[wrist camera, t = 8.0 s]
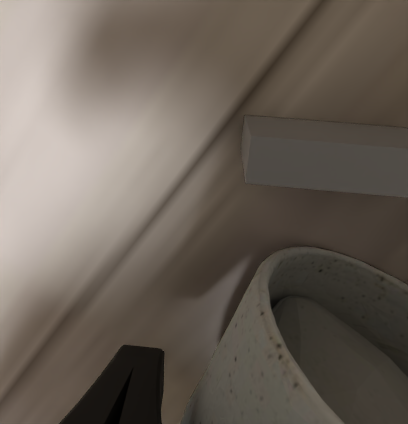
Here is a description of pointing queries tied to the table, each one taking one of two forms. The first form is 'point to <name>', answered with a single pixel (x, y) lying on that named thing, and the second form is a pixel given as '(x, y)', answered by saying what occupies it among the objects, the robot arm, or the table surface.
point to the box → (325, 156)
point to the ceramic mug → (310, 347)
